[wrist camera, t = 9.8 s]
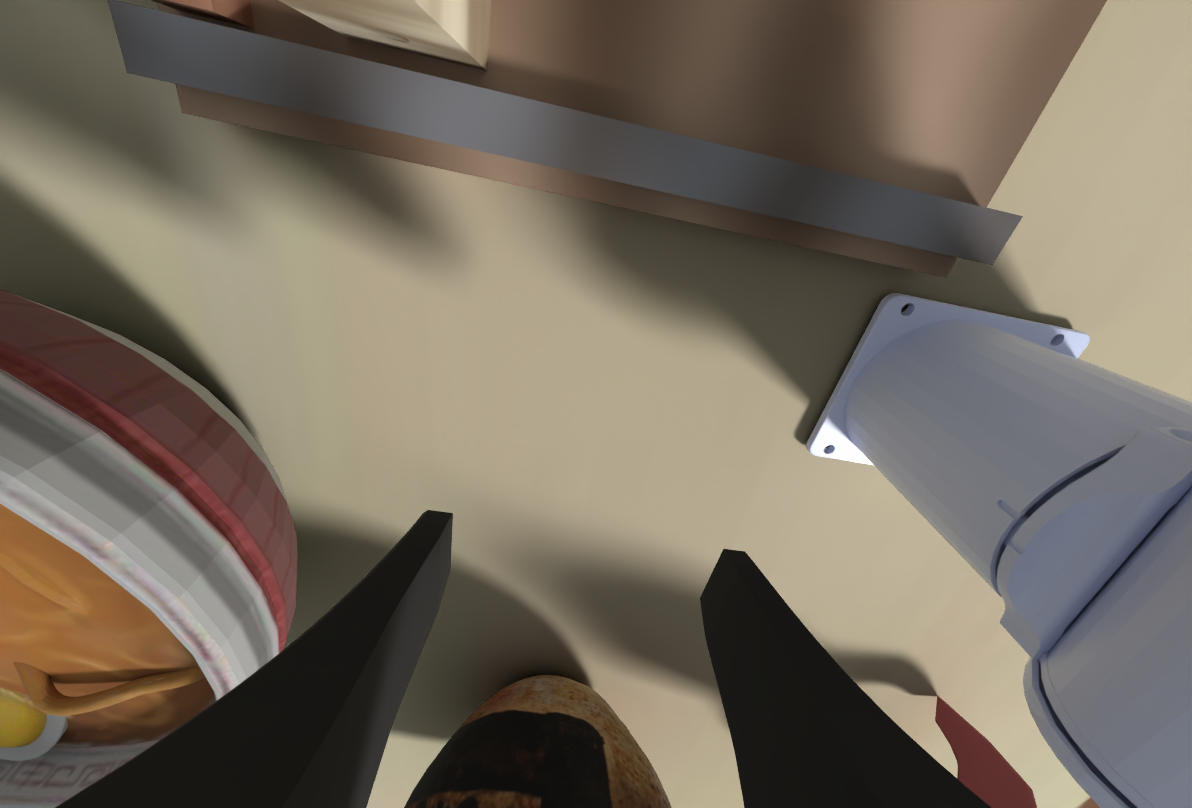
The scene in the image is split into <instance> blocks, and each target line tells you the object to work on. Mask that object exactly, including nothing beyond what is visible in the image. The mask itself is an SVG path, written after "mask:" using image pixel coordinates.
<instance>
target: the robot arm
mask: <svg viewBox="0 0 1192 808" xmlns="http://www.w3.org/2000/svg"><path fill="white" fill-rule="evenodd" d="M906 304H908V307H907V309H906V310H905V311H904V312H902V313H901V309H902V307H903V306H904V305H906ZM1089 340H1090V337H1089V335H1088V334H1086V333H1084V332H1081V331H1078V330H1073V329H1068V328H1063V327H1058V326H1054V325H1049V324H1044V323H1039V322H1034V321H1030V320H1025V319H1020V318H1015V317H1011V316H1006V315H1001V314H996V313H991V312H987V311H982V310H977V309H972V308H967V307H963V306H958V305H953V304H948V303H943V302H939V301H934V300H929V299H924V298H919V297H915V296H910V295H905V294H900V293H891V294H889V295H887V296H886V297H884V298H883V299H882V301H881V302H880V304H879V306H878V308H877V309H876V311H875V313H874V315H873V317H872V319H871V321H870V323H869V325H868V327H867V329H866V330H865V332H864V334H863V336H862V338H861V340H860V342H859V344H858V346H857V348H856V350H855V351H854V353H853V355H852V357H851V359H850V361H849V363H848V365H847V367H846V369H845V371H844V372H843V374H842V376H841V378H840V380H839V382H838V384H837V386H836V388H835V390H834V392H833V394H832V395H831V397H830V399H829V401H828V403H827V405H826V407H825V409H824V411H823V413H822V415H821V416H820V418H819V420H818V422H817V424H816V426H815V428H814V430H813V432H812V434H811V436H810V437H809V439H808V441H807V444H806V448H807V450H808V451H809V452H810V453H811V454H812V455H814V456H820V457H826V458H832V459H839V460H845V461H851V462H857V463H864V464H870V465H874V466H875V467H876V468H877V469H878V470H879V471H880V472H881V473H882V474H883V475H884V476H885V477H886V478H887V479H888V480H889V481H890V482H891V484H892V485H893V486H894V487H895V488H896V489H897V490H898V491H899V492H900V493H901V494H902V495H903V496H904V497H905V498H906V499H907V500H908V501H909V502H910V503H911V504H912V505H913V506H914V507H915V508H916V509H917V510H918V512H919V513H920V514H921V515H922V516H923V517H924V518H925V519H926V520H927V521H928V522H929V523H930V524H931V525H932V526H933V527H934V528H935V529H936V530H937V531H938V532H939V533H940V534H941V535H942V536H943V537H944V539H945V540H946V541H947V542H948V543H949V544H950V545H951V546H952V547H953V548H954V549H955V550H956V551H957V552H958V553H959V554H960V555H961V556H962V557H963V558H964V559H965V560H966V561H967V562H968V563H969V564H970V565H971V567H972V568H973V569H974V570H975V571H976V572H977V573H978V574H979V575H980V576H981V577H982V578H983V579H984V580H985V581H986V582H987V583H988V584H989V585H990V586H991V587H992V588H993V589H994V590H995V591H996V592H997V593H998V594H999V595H1000V596H1001V597H1002V598H1003V600H1004V602H1005V612H1004V614H1003V616H1002V618H1001V620H1000V623H1001V625H1002V626H1003V627H1004V628H1005V629H1006V630H1007V631H1008V632H1009V633H1010V635H1011V636H1012V637H1013V638H1014V639H1015V640H1016V641H1017V642H1018V643H1019V644H1020V646H1021V647H1022V648H1023V649H1024V650H1025V651H1026V652H1027V653H1028V654H1029V655H1030V658H1029V660H1028V662H1027V664H1026V665H1025V671H1024V677H1023V685H1024V693H1025V698H1026V701H1027V704H1028V707H1029V710H1030V713H1031V715H1032V717H1033V719H1034V721H1035V723H1036V725H1037V726H1038V728H1039V730H1040V732H1041V734H1042V736H1043V737H1044V739H1045V740H1046V742H1047V743H1048V745H1049V746H1050V748H1051V749H1052V751H1053V752H1054V754H1055V755H1056V757H1057V758H1058V759H1059V761H1060V762H1061V763H1062V764H1063V766H1064V767H1065V768H1066V769H1067V771H1068V772H1069V773H1070V774H1071V776H1072V777H1073V778H1074V779H1075V781H1076V782H1077V783H1078V784H1079V785H1080V786H1081V787H1082V788H1083V789H1084V790H1085V791H1086V793H1087V794H1088V795H1089V796H1090V797H1091V798H1092V799H1093V800H1094V801H1095V802H1096V803H1097V804H1098V806H1099V807H1100V808H1192V402H1189V401H1187V400H1184V399H1181V398H1179V397H1176V396H1174V395H1171V394H1168V393H1166V392H1163V391H1161V390H1158V389H1156V388H1153V387H1150V386H1148V385H1145V384H1143V383H1140V382H1137V381H1135V380H1132V379H1130V378H1127V377H1125V376H1122V375H1119V374H1117V373H1114V372H1112V371H1109V370H1106V369H1104V368H1101V367H1099V366H1096V365H1094V364H1091V363H1088V362H1086V361H1083V360H1081V359H1078V357H1079V355H1080V354H1081V353H1082V352H1083V350H1084V349H1085V348H1086V347H1087V345H1088V344H1089ZM828 445H831V446H830V447H829V448H827V449H824V448H825V447H826V446H828ZM452 520H453V513H446V512H439V511H431V510H428V511H426V512H424V513H423V514H422V515H421V517H420V518H419V519H418V520H417V522H416V523H415V524H414V525H413V526H412V527H411V529H410V530H409V531H408V532H407V533H406V534H405V535H404V537H403V538H402V539H401V540H400V541H399V542H398V543H397V544H396V545H395V547H394V548H393V549H392V550H391V551H390V552H389V553H388V554H387V555H386V556H385V557H384V558H383V559H382V560H381V561H380V562H379V563H378V564H377V565H376V566H375V567H374V568H373V569H372V571H371V572H370V573H369V574H368V575H367V576H366V577H365V578H364V579H363V580H362V581H361V582H360V583H359V584H358V585H356V586H355V587H354V588H353V589H352V590H351V591H350V592H349V593H348V594H347V595H346V596H345V597H344V598H343V599H341V600H340V601H339V602H338V603H337V604H336V605H335V606H334V607H333V608H332V609H331V610H330V611H329V612H327V613H326V614H325V615H324V616H323V617H322V618H321V619H320V620H318V621H317V622H316V623H315V624H314V625H313V626H312V627H310V628H309V629H308V630H307V631H306V632H305V633H303V634H302V635H301V636H300V637H299V638H297V639H296V640H295V641H294V642H292V643H291V644H290V645H289V646H288V647H286V648H285V649H284V650H283V651H282V652H280V653H279V654H278V655H277V656H275V657H274V658H273V659H271V660H270V661H269V662H267V663H266V664H265V665H264V666H262V667H261V668H260V669H258V670H257V671H256V672H255V673H253V674H252V675H251V676H249V677H248V678H247V679H245V680H244V681H243V682H242V683H240V684H239V685H238V686H236V687H235V688H233V689H232V690H231V691H229V692H228V693H227V694H225V695H224V696H223V697H221V698H220V699H218V700H217V701H216V702H214V703H213V704H211V705H210V706H209V707H207V708H206V709H204V710H203V711H201V712H200V713H198V714H197V715H195V716H194V717H193V718H191V719H190V720H188V721H187V722H185V723H184V724H182V725H181V726H180V727H178V728H177V729H175V730H174V731H172V732H171V733H169V734H168V735H167V736H165V737H164V738H162V739H161V740H159V741H158V742H156V743H155V744H154V745H152V746H151V747H149V748H148V749H146V750H145V751H143V752H142V753H140V754H138V755H137V756H135V757H134V758H132V759H131V760H129V761H128V762H126V763H125V764H123V765H122V766H120V767H118V768H117V769H115V770H114V771H112V772H110V773H109V774H107V775H106V776H104V777H102V778H101V779H99V780H98V781H96V782H95V783H93V784H91V785H90V786H88V787H87V788H85V789H83V790H82V791H80V792H79V793H77V794H75V795H74V796H72V797H71V798H69V799H68V800H66V801H64V802H63V803H61V804H60V805H58V806H56V807H55V808H366V807H367V803H368V800H369V797H370V794H371V790H372V787H373V784H374V781H375V777H376V774H377V771H378V768H379V765H380V762H381V759H382V755H383V752H384V749H385V746H386V743H387V740H388V737H389V733H390V730H391V727H392V724H393V722H394V719H395V716H396V714H397V711H398V708H399V705H400V703H401V700H402V698H403V695H404V693H405V691H406V688H407V686H408V683H409V681H410V678H411V676H412V673H413V671H414V668H415V666H416V664H417V661H418V659H419V656H420V654H421V651H422V649H423V646H424V644H425V641H426V639H427V637H428V634H429V632H430V629H431V627H432V624H433V622H434V619H435V617H436V614H437V612H438V609H439V606H440V602H441V599H442V596H443V592H444V589H445V585H446V582H447V578H448V575H449V571H450V565H451V542H452ZM700 600H701V608H702V616H703V624H704V630H705V636H706V641H707V645H708V649H709V653H710V657H711V661H712V665H713V669H714V672H715V676H716V680H717V684H718V688H719V691H720V695H721V699H722V703H723V706H724V710H725V714H726V718H727V722H728V725H729V729H730V733H731V737H732V742H733V746H734V751H735V755H736V761H737V767H738V772H739V778H740V784H741V789H742V795H743V801H744V807H745V808H991V807H990V806H989V805H988V804H987V803H985V802H984V801H983V800H982V799H981V798H979V797H978V796H977V795H976V794H975V793H973V792H972V791H971V790H970V789H969V788H967V787H966V786H965V785H964V784H963V783H961V782H960V781H959V780H958V779H957V778H956V777H954V776H953V775H952V774H951V773H950V772H949V771H947V770H946V769H945V768H944V767H943V766H942V765H941V764H939V763H938V762H937V761H936V760H935V759H934V758H933V757H932V756H931V755H929V754H928V753H927V752H926V751H925V750H924V749H923V748H922V747H921V746H920V745H918V744H917V743H916V742H915V741H914V740H913V739H912V738H911V737H910V736H909V735H907V734H906V733H905V732H904V731H903V730H902V729H901V728H900V727H899V726H898V725H897V724H896V723H895V722H894V721H893V720H892V719H891V718H890V717H888V716H887V715H886V714H885V713H884V712H883V711H882V710H881V709H880V708H879V707H878V706H877V705H876V704H875V703H874V702H873V700H872V699H871V698H870V697H869V696H868V695H867V694H866V693H865V692H864V691H863V690H862V689H861V688H860V687H859V686H858V685H857V684H856V683H855V682H854V681H853V680H852V679H851V678H850V677H849V676H848V675H847V674H846V673H845V672H844V670H843V669H842V668H841V667H840V666H839V665H838V664H837V663H836V661H835V660H834V659H833V658H832V657H831V656H830V655H829V654H828V653H827V651H826V650H825V649H824V648H823V647H822V646H821V645H820V643H819V642H818V641H817V640H816V639H815V638H814V636H813V635H812V634H811V633H810V632H809V631H808V629H807V628H806V627H805V626H804V625H803V623H802V622H801V621H800V620H799V619H798V617H797V616H796V615H795V614H794V612H793V611H792V610H791V609H790V607H789V606H788V605H787V604H786V603H785V601H784V600H783V599H782V598H781V596H780V595H779V594H778V592H777V591H776V590H775V589H774V587H773V586H772V585H771V584H770V582H769V581H768V580H767V579H766V577H765V576H764V575H763V573H762V572H761V571H760V570H759V568H758V567H757V566H756V565H755V563H754V562H753V561H752V560H751V558H750V557H749V556H748V555H747V554H746V552H743V551H736V550H728V549H723V551H722V553H721V555H720V558H719V560H718V562H717V564H716V566H715V568H714V570H713V572H712V574H711V576H710V578H709V581H708V583H707V585H706V587H705V589H704V591H703V593H702V595H701V597H700Z"/></svg>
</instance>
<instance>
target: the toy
mask: <svg viewBox="0 0 1192 808" xmlns="http://www.w3.org/2000/svg"><path fill="white" fill-rule="evenodd" d="M935 721H936V723H937V724H938V726H939V727H940V729H941V731H942V732H943V734H944V735H945V737H946V739H947V740H948V742H949V743H950V745H951V748H952V750H953V752H954V755H955V757H956V760H957V763H958V777H957V779H958V780H959V781H960V782H961V783H963V784H964V785H965V786H966V787H967V788H969V789H970V790H971V791H972V792H973V793H975V794H976V795H977V796H978V797H979V798H981V799H982V800H983V801H984V802H985V803H987V804H988V805H989V806H990V807H991V808H1037V805H1036V801H1035V798H1034V794H1033V791H1032V789H1031V788H1030V787H1029V786H1028V784H1027V783H1026V782H1025V781H1024V780H1023V779H1022V778H1021V777H1020V775H1019V774H1018V773H1017V772H1016V771H1015V770H1014V769H1013V768H1012V766H1011V765H1010V764H1009V763H1008V762H1007V761H1006V760H1005V759H1004V757H1003V756H1002V755H1001V754H1000V753H999V752H998V751H997V750H996V748H995V747H994V746H993V745H992V744H991V743H990V742H989V741H988V740H987V739H986V738H985V737H984V736H983V735H982V734H980V733H979V732H978V731H977V730H976V729H975V728H974V727H973V726H971V725H970V724H969V723H968V722H967V721H966V720H965V719H964V718H962V717H961V716H960V715H959V714H958V713H957V712H956V711H955V710H953V709H952V708H951V707H950V706H949V705H948V704H947V703H946V702H944V701H943V700H942V699H941V698H940V697H939V696H938V695H937V706H936V717H935Z"/></svg>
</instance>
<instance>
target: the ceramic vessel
mask: <svg viewBox="0 0 1192 808" xmlns="http://www.w3.org/2000/svg"><path fill="white" fill-rule="evenodd" d="M404 808H671V805H670V803H669V800H668V798H667V795H666V793H665V791H664V789H663V786H662V784H661V782H660V780H659V778H658V776H657V774H656V772H655V770H654V768H653V767H652V765H651V763H650V761H649V760H648V758H647V757H646V755H645V754H644V752H643V751H642V750H641V748H640V747H639V745H638V744H637V742H636V741H635V739H634V738H633V737H632V735H631V734H630V732H629V730H628V729H627V727H626V726H625V725H624V724H623V722H622V721H621V720H620V719H619V718H618V716H617V715H616V714H615V712H614V711H613V710H612V709H611V707H610V706H609V705H608V704H607V702H606V701H605V700H604V699H603V698H602V697H601V696H600V695H599V694H598V693H596V692H595V691H594V690H593V689H591V688H590V687H588V686H586V685H584V684H581V683H579V682H576V681H574V680H571V679H569V678H565V677H561V676H555V675H538V676H533V677H528V678H525V679H522V680H520V681H517V682H515V683H513V684H510V685H508V686H507V687H505V688H503V689H501V690H499V691H498V692H497V693H496V694H494V695H493V696H492V697H491V698H489V699H488V700H487V701H486V702H485V703H483V704H482V705H481V706H480V707H479V708H478V709H477V710H476V711H475V712H474V713H473V714H472V715H471V716H470V717H469V718H468V719H467V721H466V722H465V723H464V724H463V725H462V726H461V727H460V728H459V729H458V730H457V732H456V733H455V734H454V735H453V736H452V738H451V739H450V740H449V741H448V742H447V744H446V745H445V746H444V747H443V748H442V750H441V751H440V753H439V754H438V755H437V757H436V758H435V759H434V761H433V762H432V763H431V765H430V766H429V767H428V768H427V770H426V772H425V773H424V775H423V776H422V778H421V779H420V781H419V782H418V784H417V786H416V787H415V789H414V790H413V792H412V794H411V796H410V798H409V800H408V801H407V803H406V805H405V807H404Z"/></svg>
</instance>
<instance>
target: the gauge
mask: <svg viewBox="0 0 1192 808" xmlns="http://www.w3.org/2000/svg"><path fill="white" fill-rule="evenodd" d="M279 1H281V2H283V3H284V4H286V5H288V6H290V7H292V8H294V9H295V10H297V11H299V12H301V13H303V14H305V15H306V16H308V17H310V18H312V19H314V20H316V21H317V22H319V23H321V24H323V25H325V26H327V27H328V28H330V29H332V30H334V31H336V32H338V33H340V34H341V35H343V36H345V37H348V38H352V39H356V40H360V41H365V42H369V43H373V44H377V45H381V46H385V47H389V48H393V49H398V50H402V51H406V52H410V53H414V54H418V55H422V56H426V57H431V58H435V59H439V60H443V61H447V62H451V63H455V64H459V65H464V66H468V67H472V68H476V69H480V70H484V71H487V67H488V50H489V32H490V15H491V0H279Z"/></svg>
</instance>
